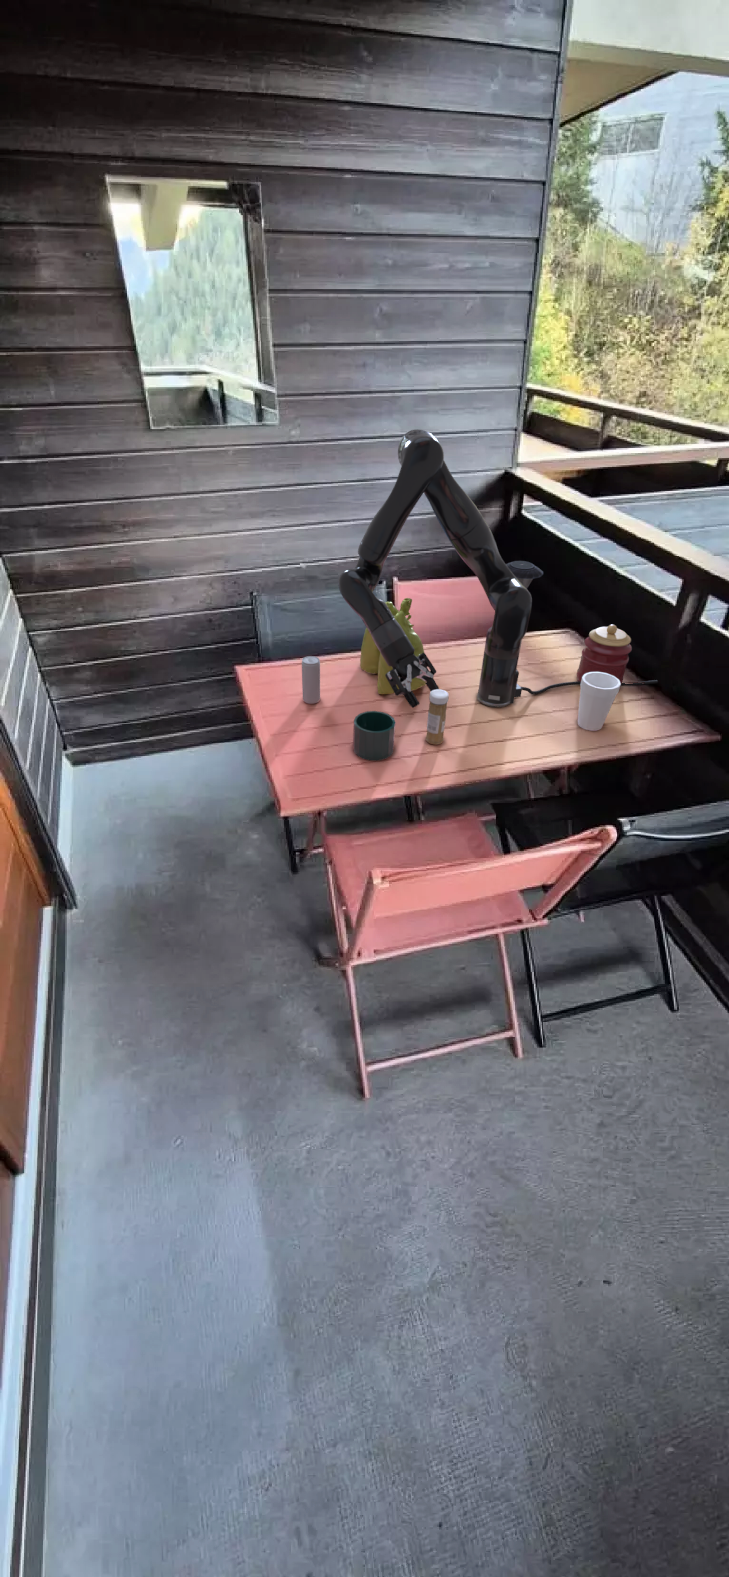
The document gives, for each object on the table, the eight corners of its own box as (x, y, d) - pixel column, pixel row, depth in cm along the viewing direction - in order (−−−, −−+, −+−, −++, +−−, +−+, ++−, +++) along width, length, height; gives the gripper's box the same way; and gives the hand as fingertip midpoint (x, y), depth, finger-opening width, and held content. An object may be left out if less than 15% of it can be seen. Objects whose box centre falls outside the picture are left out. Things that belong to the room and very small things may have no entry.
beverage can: (306, 706, 187) (306, 665, 180) (299, 698, 190) (298, 657, 183) (323, 702, 189) (323, 662, 182) (315, 694, 192) (315, 654, 185)
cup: (388, 737, 176) (390, 709, 171) (397, 759, 168) (399, 730, 163) (350, 740, 174) (350, 712, 169) (357, 762, 166) (358, 733, 162)
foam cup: (609, 719, 187) (621, 675, 179) (607, 736, 179) (619, 692, 172) (573, 712, 189) (583, 669, 181) (569, 729, 182) (580, 685, 174)
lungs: (434, 694, 194) (443, 612, 180) (382, 702, 190) (386, 618, 176) (402, 655, 213) (408, 578, 199) (354, 661, 209) (356, 582, 194)
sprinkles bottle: (447, 742, 175) (452, 694, 167) (432, 747, 173) (437, 699, 165) (435, 733, 178) (440, 686, 170) (421, 738, 176) (426, 691, 168)
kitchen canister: (626, 679, 205) (642, 623, 195) (613, 697, 196) (630, 639, 186) (583, 667, 211) (597, 612, 200) (569, 684, 202) (582, 627, 191)
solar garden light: (533, 663, 212) (553, 565, 194) (511, 676, 205) (528, 575, 187) (500, 650, 218) (515, 554, 201) (477, 662, 211) (491, 564, 193)
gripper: (383, 644, 162) (419, 704, 164) (419, 626, 171) (453, 683, 173) (364, 658, 168) (399, 716, 169) (400, 640, 177) (433, 695, 178)
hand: (426, 699), depth 171 cm, fingers open, 8 cm apart
